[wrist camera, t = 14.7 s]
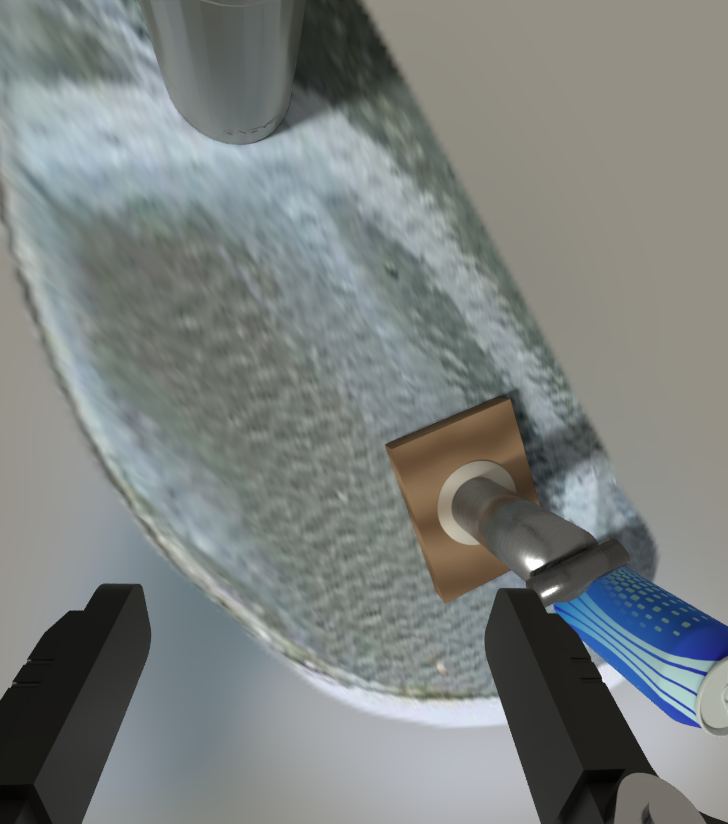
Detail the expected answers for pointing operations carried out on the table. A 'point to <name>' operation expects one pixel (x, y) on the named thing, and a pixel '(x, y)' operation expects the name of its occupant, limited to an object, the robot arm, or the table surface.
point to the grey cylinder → (534, 541)
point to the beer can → (657, 646)
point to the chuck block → (442, 476)
